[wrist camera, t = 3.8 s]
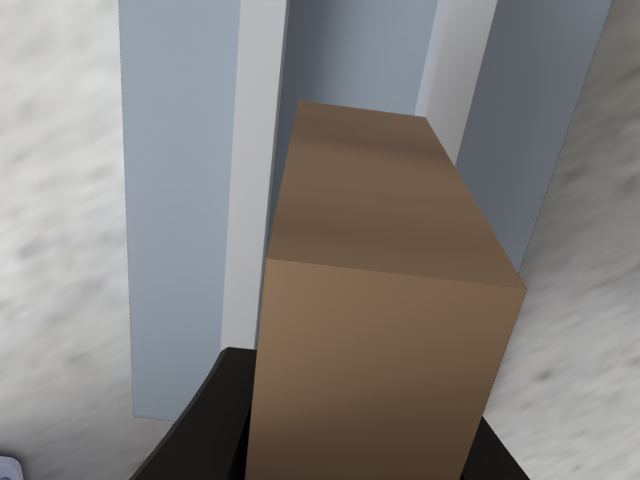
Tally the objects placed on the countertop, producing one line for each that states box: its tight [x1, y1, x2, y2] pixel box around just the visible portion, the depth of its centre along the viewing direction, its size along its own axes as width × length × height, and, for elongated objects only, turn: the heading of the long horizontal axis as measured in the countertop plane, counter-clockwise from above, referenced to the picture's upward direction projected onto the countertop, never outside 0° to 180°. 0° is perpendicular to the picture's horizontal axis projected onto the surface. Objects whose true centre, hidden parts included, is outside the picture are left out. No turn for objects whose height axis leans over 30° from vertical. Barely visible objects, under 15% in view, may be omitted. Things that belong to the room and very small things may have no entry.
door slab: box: [245, 100, 527, 480], centre depth 10 cm, size 9×2×6 cm, turn 173°
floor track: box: [118, 0, 612, 421], centre depth 15 cm, size 18×12×4 cm, turn 173°
